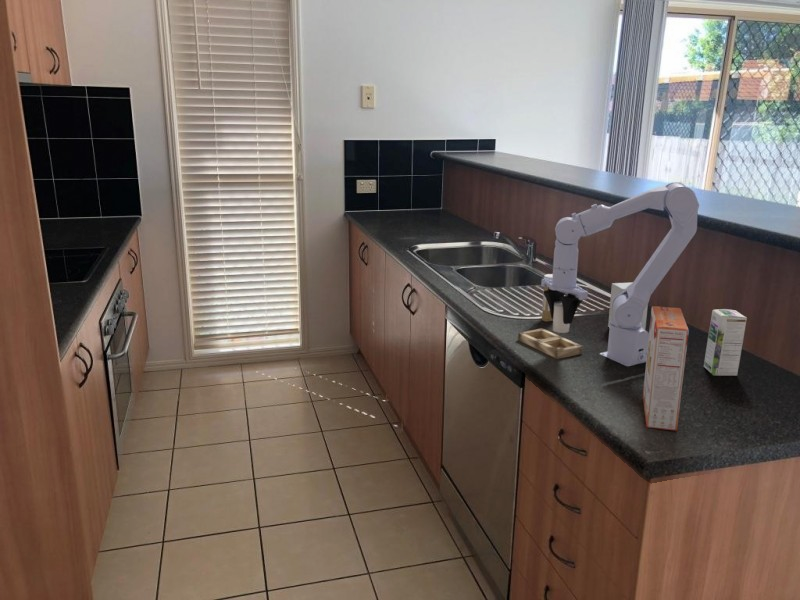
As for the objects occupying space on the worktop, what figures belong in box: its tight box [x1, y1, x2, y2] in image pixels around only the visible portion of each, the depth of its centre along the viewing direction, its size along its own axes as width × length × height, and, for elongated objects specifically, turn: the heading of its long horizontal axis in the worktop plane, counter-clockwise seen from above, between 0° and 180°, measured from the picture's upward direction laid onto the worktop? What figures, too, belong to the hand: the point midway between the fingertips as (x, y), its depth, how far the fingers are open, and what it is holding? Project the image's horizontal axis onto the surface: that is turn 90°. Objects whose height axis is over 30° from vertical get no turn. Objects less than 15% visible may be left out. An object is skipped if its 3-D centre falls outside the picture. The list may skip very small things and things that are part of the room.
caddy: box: [517, 328, 584, 360], centre depth 168 cm, size 16×8×2 cm, turn 28°
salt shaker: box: [552, 301, 571, 334], centre depth 163 cm, size 4×4×7 cm
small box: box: [607, 281, 649, 331], centre depth 181 cm, size 8×6×13 cm
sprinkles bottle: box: [541, 273, 553, 322], centre depth 189 cm, size 5×5×14 cm
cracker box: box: [642, 305, 690, 432], centre depth 130 cm, size 14×6×21 cm, turn 163°
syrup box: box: [703, 308, 748, 377], centre depth 152 cm, size 6×6×14 cm
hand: (561, 320), depth 163 cm, fingers closed on salt shaker, 4 cm apart
